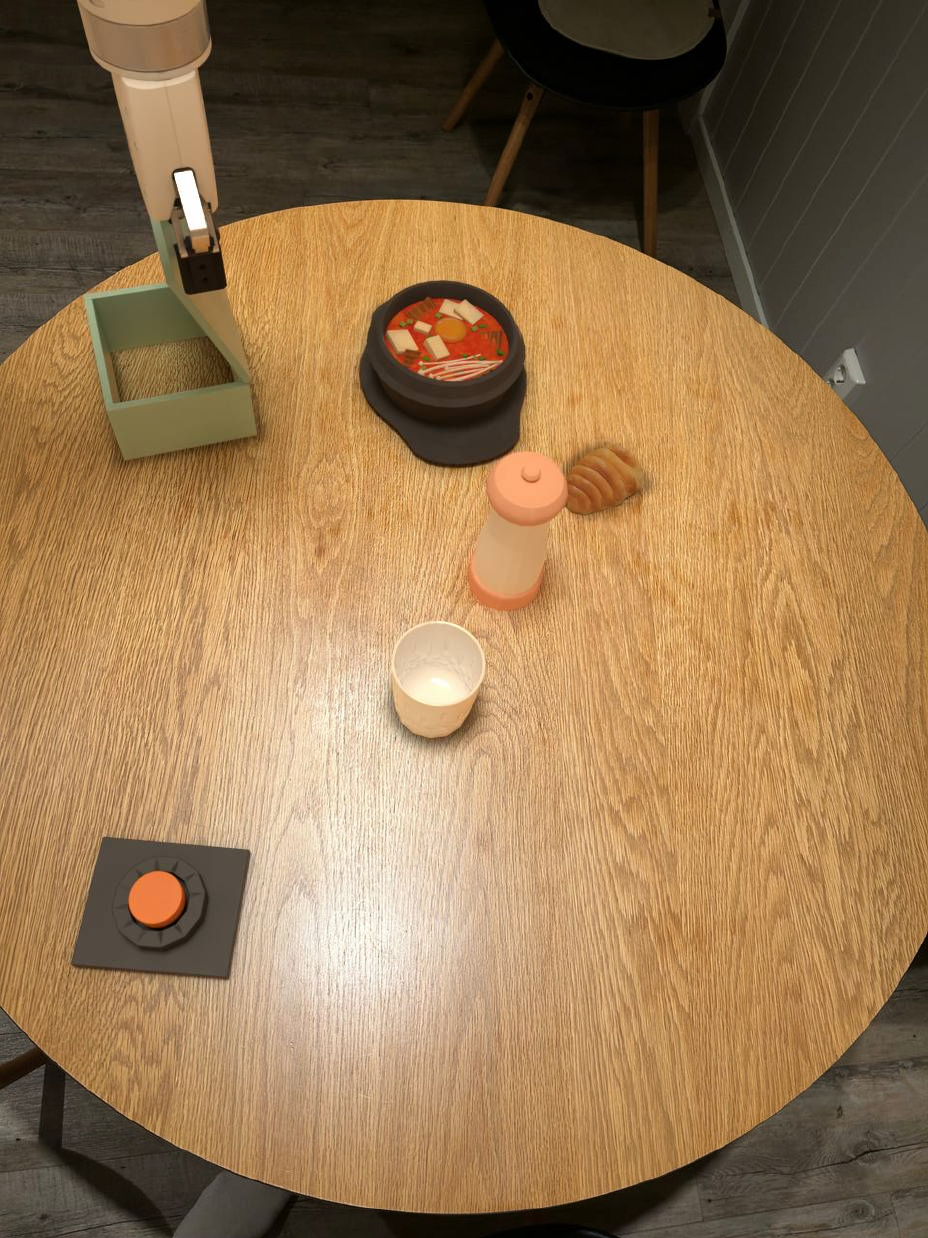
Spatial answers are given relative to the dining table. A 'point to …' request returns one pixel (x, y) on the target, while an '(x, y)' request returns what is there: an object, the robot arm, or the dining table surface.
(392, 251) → the dining table surface
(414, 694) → the white cup
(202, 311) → the lid
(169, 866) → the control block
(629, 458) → the pastry
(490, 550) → the salt shaker
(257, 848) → the dining table surface
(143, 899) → the button
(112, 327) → the green bottomless box
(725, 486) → the dining table surface
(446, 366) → the casserole
